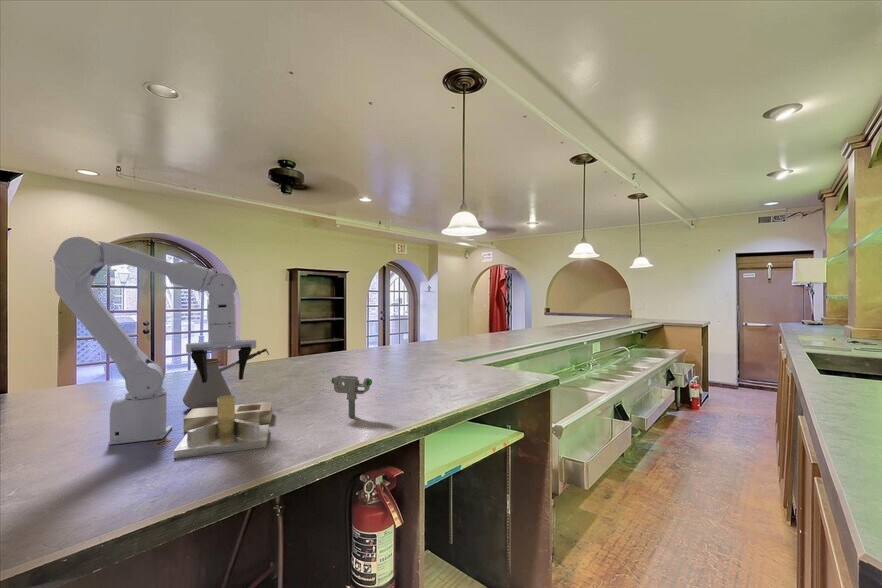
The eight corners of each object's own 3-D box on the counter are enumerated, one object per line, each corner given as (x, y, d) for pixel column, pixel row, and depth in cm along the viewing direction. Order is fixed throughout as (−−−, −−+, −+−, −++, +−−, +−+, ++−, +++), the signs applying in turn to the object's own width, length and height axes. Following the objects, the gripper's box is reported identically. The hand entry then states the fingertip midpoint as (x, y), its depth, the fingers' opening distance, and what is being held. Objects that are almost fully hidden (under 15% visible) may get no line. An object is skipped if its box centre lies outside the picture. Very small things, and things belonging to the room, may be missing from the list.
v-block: (173, 458, 75) (173, 437, 75) (187, 440, 84) (187, 421, 84) (266, 447, 80) (266, 427, 80) (269, 431, 90) (269, 413, 89)
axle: (215, 438, 81) (215, 399, 81) (219, 433, 84) (219, 395, 84) (233, 437, 82) (232, 398, 81) (236, 431, 85) (236, 394, 84)
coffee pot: (182, 416, 100) (182, 357, 100) (182, 405, 110) (182, 351, 110) (272, 403, 112) (272, 350, 112) (265, 394, 121) (265, 346, 121)
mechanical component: (368, 419, 97) (368, 379, 97) (330, 417, 99) (330, 377, 99) (372, 416, 100) (373, 377, 100) (335, 413, 102) (335, 375, 102)
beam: (183, 431, 89) (183, 418, 89) (192, 421, 96) (192, 408, 96) (270, 422, 95) (270, 410, 95) (272, 413, 103) (272, 401, 103)
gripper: (182, 326, 88) (183, 387, 88) (253, 323, 93) (255, 380, 93) (189, 323, 94) (191, 380, 95) (256, 321, 99) (257, 374, 100)
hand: (223, 380), depth 94 cm, fingers open, 7 cm apart
